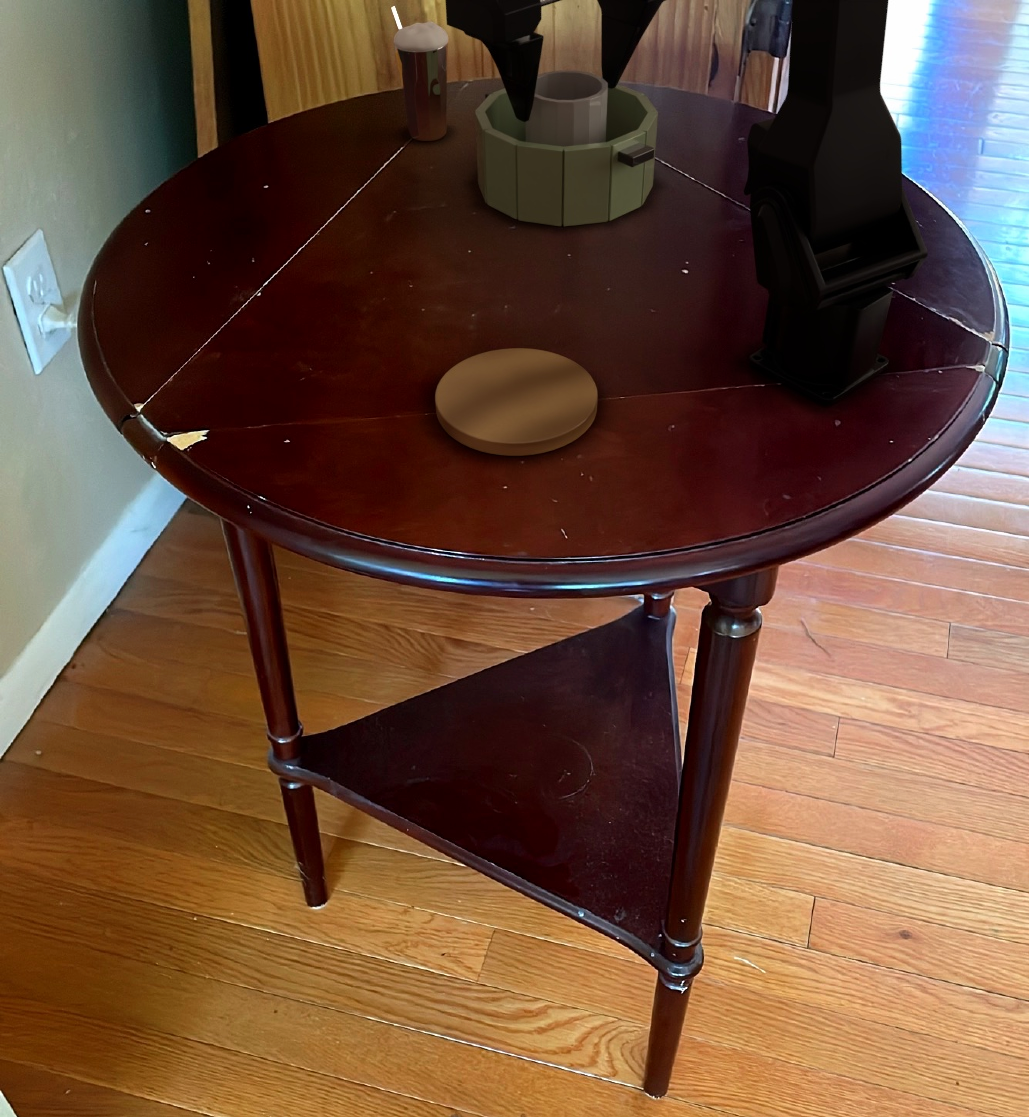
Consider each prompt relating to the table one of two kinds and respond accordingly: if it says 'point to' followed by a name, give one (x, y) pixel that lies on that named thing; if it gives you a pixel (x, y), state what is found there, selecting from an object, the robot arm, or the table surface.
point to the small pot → (568, 109)
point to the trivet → (516, 401)
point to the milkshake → (423, 77)
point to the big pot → (567, 164)
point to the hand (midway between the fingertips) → (566, 103)
